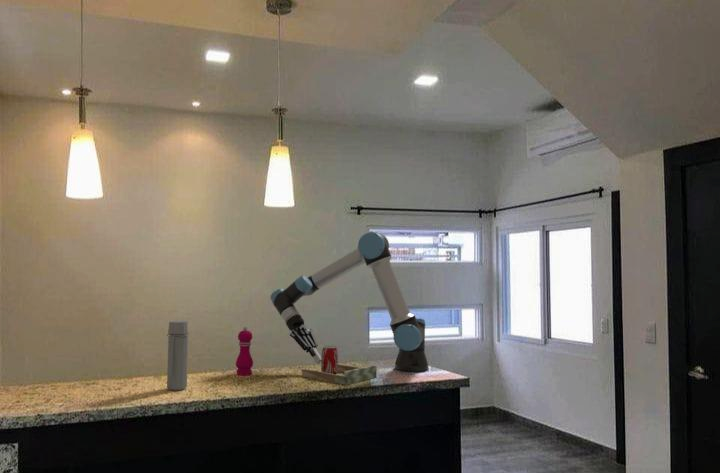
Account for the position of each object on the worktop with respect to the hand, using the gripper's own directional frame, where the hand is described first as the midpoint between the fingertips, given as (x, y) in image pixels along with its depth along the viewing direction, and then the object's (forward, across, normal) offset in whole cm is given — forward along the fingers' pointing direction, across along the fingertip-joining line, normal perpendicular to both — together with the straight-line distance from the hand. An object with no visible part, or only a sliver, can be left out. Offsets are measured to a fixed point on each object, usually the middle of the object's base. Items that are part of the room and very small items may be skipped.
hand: (319, 361), depth 264 cm
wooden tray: (+11, -1, +4) cm, 12 cm away
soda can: (+7, -1, 0) cm, 7 cm away
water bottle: (-9, +59, -17) cm, 62 cm away
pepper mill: (-12, +22, -20) cm, 32 cm away
